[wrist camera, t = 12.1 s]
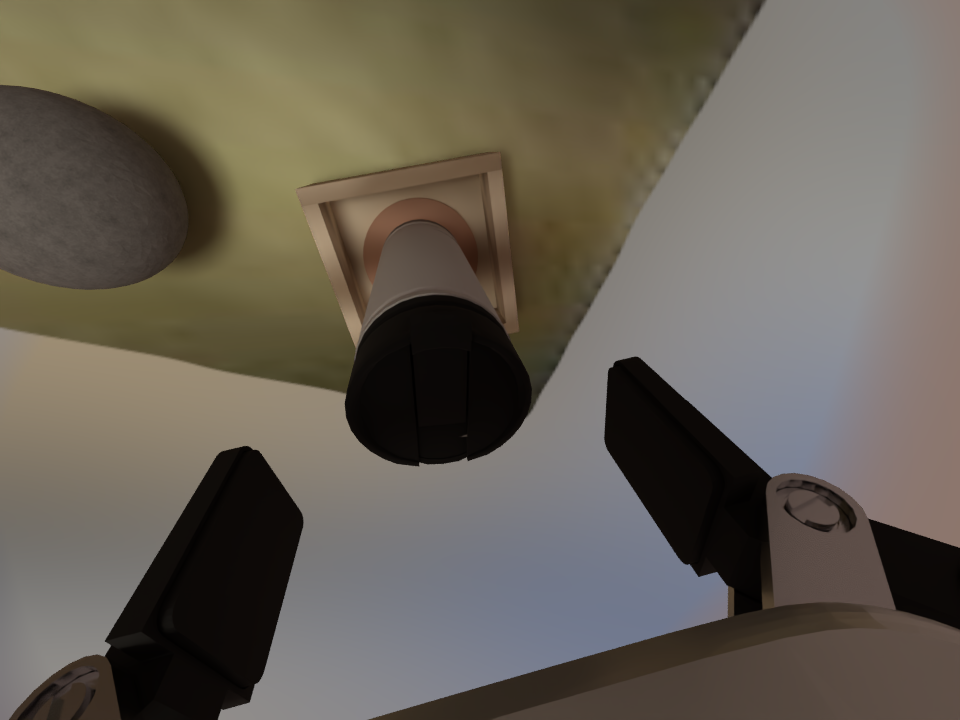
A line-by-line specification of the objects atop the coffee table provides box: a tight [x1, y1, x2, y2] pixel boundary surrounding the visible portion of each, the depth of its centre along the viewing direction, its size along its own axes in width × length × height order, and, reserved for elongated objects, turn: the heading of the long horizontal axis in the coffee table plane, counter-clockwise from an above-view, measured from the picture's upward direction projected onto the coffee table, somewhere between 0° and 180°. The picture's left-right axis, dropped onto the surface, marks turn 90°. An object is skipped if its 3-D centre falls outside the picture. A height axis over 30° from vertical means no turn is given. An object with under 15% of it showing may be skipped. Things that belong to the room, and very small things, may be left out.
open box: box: [295, 152, 519, 347], centre depth 28 cm, size 13×13×4 cm
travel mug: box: [345, 219, 532, 466], centre depth 20 cm, size 6×7×20 cm
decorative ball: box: [0, 85, 188, 290], centre depth 20 cm, size 10×10×10 cm
